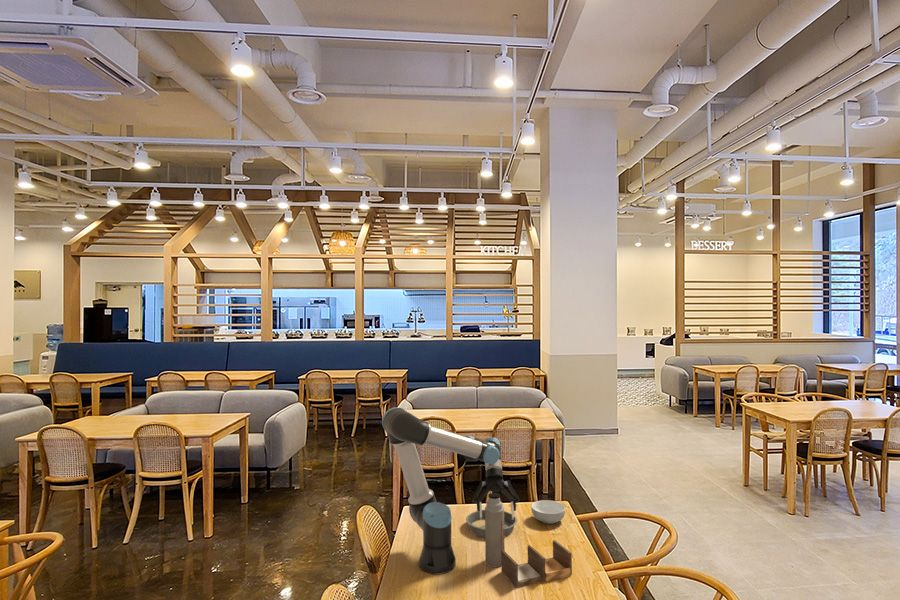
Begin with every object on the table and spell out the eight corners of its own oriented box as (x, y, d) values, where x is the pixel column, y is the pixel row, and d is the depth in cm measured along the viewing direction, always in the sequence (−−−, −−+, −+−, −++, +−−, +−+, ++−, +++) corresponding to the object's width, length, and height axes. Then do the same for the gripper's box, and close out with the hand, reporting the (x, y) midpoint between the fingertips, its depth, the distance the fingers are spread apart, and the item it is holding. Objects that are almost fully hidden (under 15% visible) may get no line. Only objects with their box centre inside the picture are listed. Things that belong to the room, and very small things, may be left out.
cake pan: (516, 518, 250) (516, 509, 251) (517, 540, 226) (517, 530, 226) (467, 516, 253) (467, 507, 253) (464, 538, 229) (464, 528, 229)
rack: (516, 588, 186) (516, 565, 187) (501, 572, 198) (501, 550, 198) (572, 575, 195) (572, 553, 195) (555, 560, 207) (554, 540, 207)
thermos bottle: (507, 560, 207) (507, 493, 208) (499, 569, 200) (498, 499, 201) (490, 555, 211) (490, 489, 212) (482, 563, 205) (481, 495, 206)
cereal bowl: (527, 514, 255) (527, 500, 255) (558, 512, 257) (558, 499, 257) (537, 528, 238) (536, 513, 238) (570, 526, 240) (570, 512, 240)
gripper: (520, 474, 226) (525, 521, 211) (466, 475, 227) (467, 522, 211) (522, 466, 221) (527, 514, 206) (466, 467, 221) (467, 514, 206)
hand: (497, 518), depth 209 cm, fingers open, 13 cm apart
